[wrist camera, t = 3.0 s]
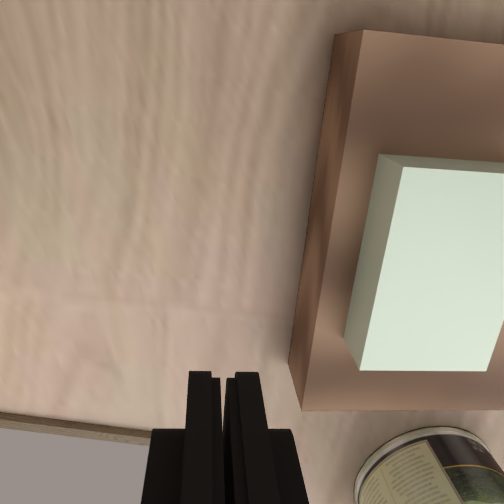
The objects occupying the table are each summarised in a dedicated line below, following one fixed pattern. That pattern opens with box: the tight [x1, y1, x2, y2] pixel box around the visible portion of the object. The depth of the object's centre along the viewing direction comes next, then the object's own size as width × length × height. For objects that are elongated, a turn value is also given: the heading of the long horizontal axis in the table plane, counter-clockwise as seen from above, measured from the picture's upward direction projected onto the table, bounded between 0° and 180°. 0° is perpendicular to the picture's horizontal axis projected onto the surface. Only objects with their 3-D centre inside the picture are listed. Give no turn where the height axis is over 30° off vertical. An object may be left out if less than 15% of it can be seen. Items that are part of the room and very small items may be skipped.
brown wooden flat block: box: [288, 29, 504, 411], centre depth 23 cm, size 18×12×4 cm, turn 175°
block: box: [343, 154, 504, 371], centre depth 20 cm, size 9×6×2 cm, turn 175°
